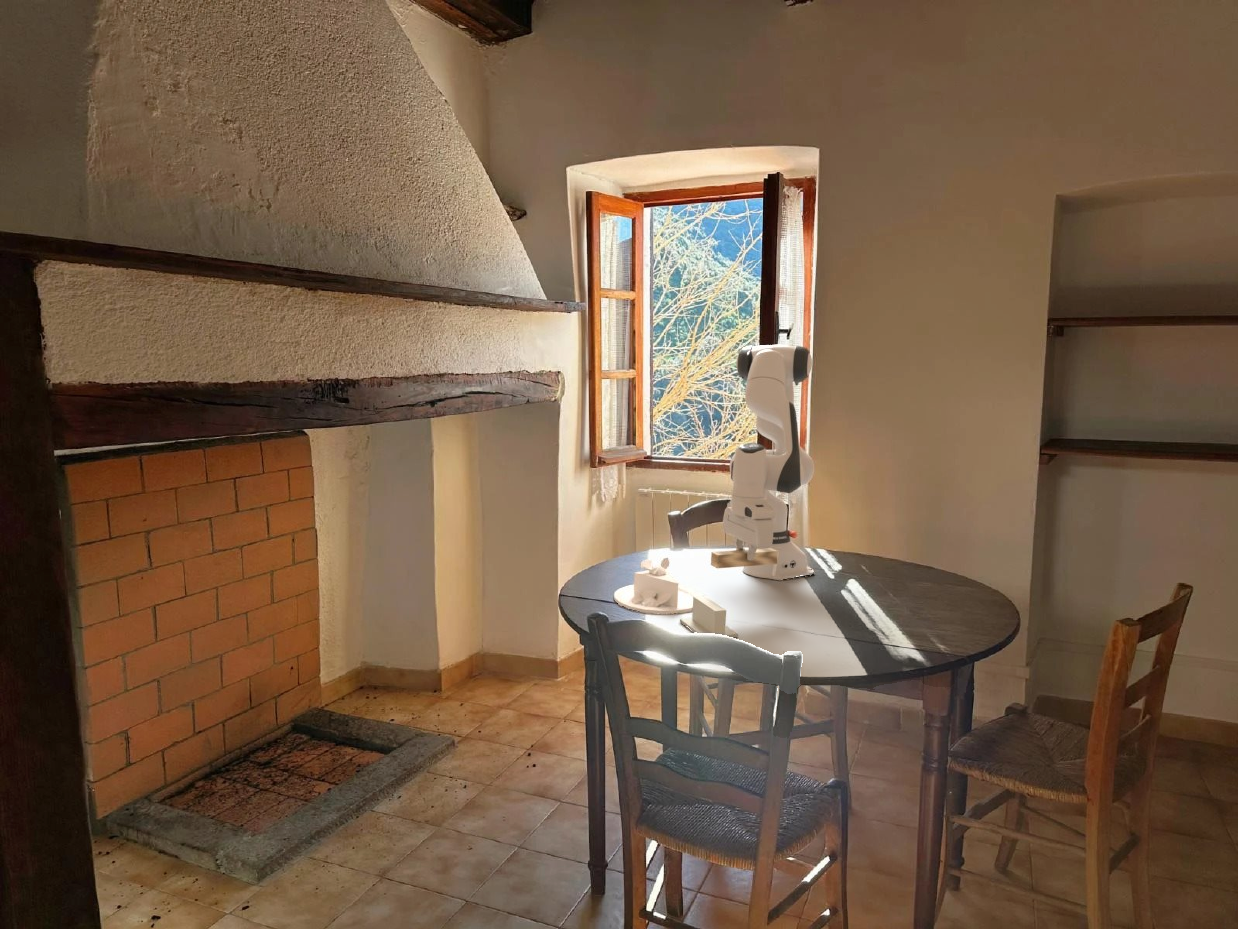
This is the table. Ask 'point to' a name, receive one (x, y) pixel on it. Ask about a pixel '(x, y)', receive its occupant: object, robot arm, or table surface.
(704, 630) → the ridge block
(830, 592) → the table surface
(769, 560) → the beech bar
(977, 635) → the table surface
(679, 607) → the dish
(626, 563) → the table surface
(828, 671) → the table surface
